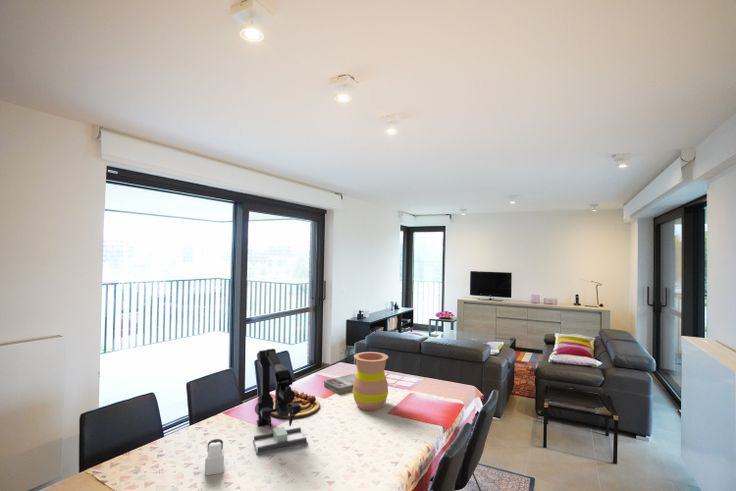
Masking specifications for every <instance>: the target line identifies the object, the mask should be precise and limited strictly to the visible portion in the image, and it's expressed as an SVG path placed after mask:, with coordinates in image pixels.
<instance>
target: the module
mask: <svg viewBox="0 0 736 491" xmlns="http://www.w3.org/2000/svg"><path fill="white" fill-rule="evenodd" d="M272 430H273V438H274V440H275V442H276V443H280V442H285V441H287V437H288V434H287V432H286V430H287V429H285V427H284V426H280V427H275V428H273V429H272Z"/></svg>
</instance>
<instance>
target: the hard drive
mask: <svg viewBox="0 0 736 491" xmlns="http://www.w3.org/2000/svg"><path fill="white" fill-rule="evenodd" d="M356 374H357V373H351V374H347V375H343V376H338V377H335V378H329V379H326V380H324V381H323V387H324V388H326V389H327V390H329V391H330V392H333V393H334V394H336V395H342V394H345V393H349V392H353V382H354V380H355V377H356Z"/></svg>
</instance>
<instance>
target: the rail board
mask: <svg viewBox="0 0 736 491" xmlns="http://www.w3.org/2000/svg"><path fill="white" fill-rule="evenodd" d="M285 430H286V432H287V434H288V437H287V441H285V442H280V443H276V442H275V440H274V438H273V432H268V433H262V434H258V435H257V434H256V435H254V436H253V439H252V443H253V447H254V451H255V454H256V456H260V455H264V454H270V453H275V452H279V451H284V450H291V449H293V448H299V447H304V446H307V445H308V440H307V439H308V438H307V437H305V436H304V433H303V432H302V430H301V427H296V428H289V429H285Z"/></svg>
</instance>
